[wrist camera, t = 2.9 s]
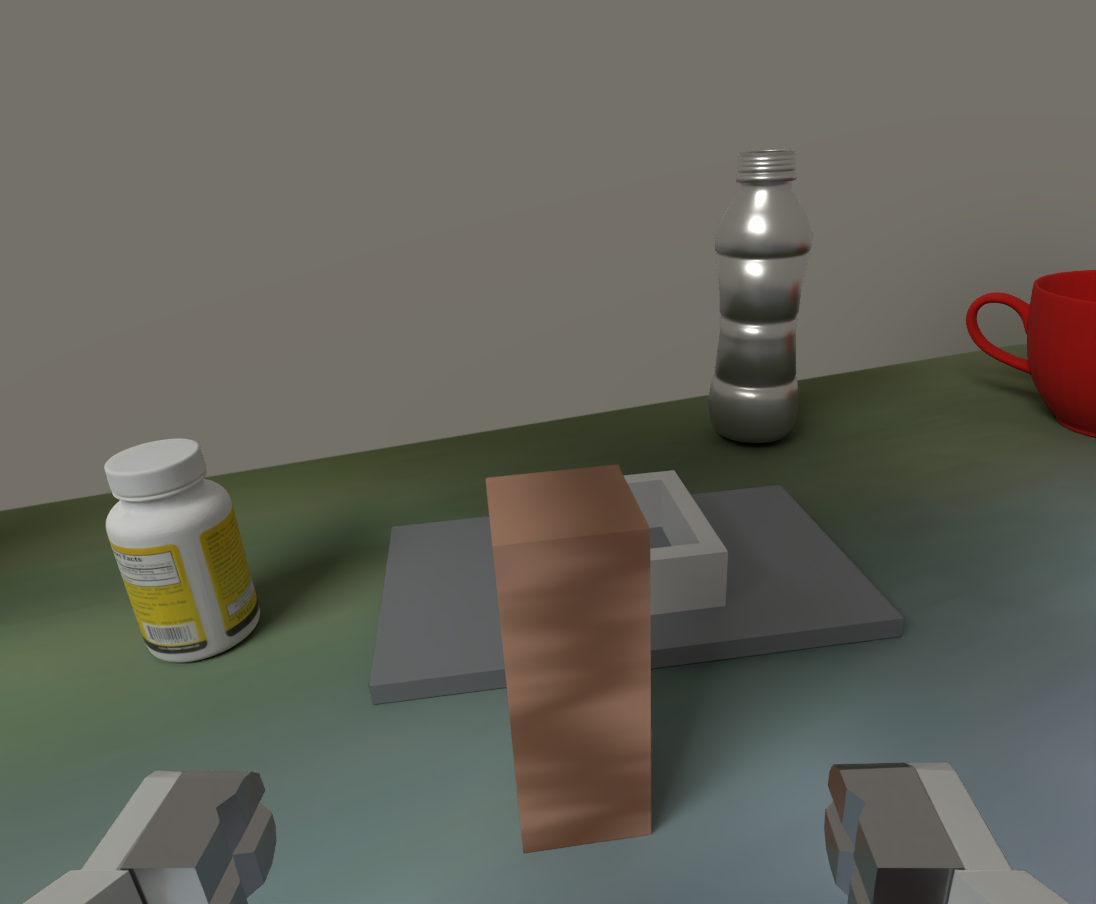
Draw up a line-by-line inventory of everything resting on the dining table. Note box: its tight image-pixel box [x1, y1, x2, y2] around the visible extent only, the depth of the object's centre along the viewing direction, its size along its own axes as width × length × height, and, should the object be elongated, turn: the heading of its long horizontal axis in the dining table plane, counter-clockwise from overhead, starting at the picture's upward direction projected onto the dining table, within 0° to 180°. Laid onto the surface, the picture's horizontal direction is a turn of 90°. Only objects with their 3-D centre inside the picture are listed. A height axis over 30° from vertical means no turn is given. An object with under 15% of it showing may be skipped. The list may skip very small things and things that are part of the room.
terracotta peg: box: [485, 464, 651, 853], centre depth 25 cm, size 4×4×12 cm
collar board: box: [369, 470, 905, 704], centre depth 39 cm, size 24×14×4 cm, turn 97°
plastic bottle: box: [708, 149, 813, 443], centre depth 52 cm, size 6×7×20 cm
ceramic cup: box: [966, 270, 1096, 437], centre depth 54 cm, size 13×17×10 cm
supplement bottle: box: [104, 439, 260, 662], centre depth 36 cm, size 5×5×10 cm
